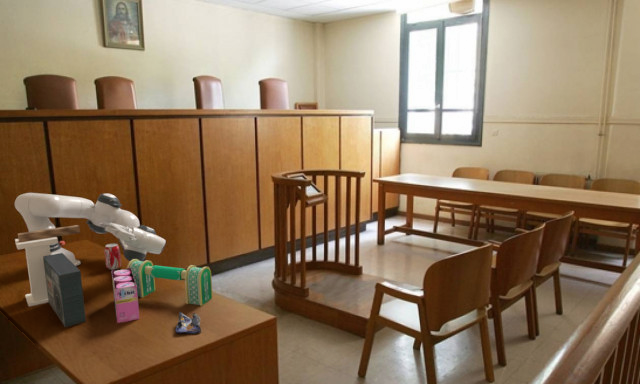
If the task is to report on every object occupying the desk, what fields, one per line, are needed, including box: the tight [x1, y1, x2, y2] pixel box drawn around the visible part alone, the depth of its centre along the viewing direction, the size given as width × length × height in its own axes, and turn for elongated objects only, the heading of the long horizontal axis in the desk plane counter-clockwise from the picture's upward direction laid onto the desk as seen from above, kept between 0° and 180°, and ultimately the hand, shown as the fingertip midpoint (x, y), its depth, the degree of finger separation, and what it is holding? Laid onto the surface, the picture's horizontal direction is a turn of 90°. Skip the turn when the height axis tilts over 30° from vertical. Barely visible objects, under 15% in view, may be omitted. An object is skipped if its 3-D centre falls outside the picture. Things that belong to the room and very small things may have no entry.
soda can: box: [104, 242, 122, 271], centre depth 226 cm, size 7×7×12 cm
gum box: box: [111, 267, 140, 324], centre depth 178 cm, size 24×8×14 cm, turn 27°
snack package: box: [175, 311, 202, 335], centre depth 162 cm, size 12×6×12 cm
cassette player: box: [43, 253, 87, 328], centre depth 176 cm, size 29×7×20 cm, turn 41°
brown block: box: [17, 224, 81, 242], centre depth 189 cm, size 22×3×3 cm, turn 127°
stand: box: [14, 236, 59, 307], centre depth 188 cm, size 14×12×26 cm
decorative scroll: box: [126, 259, 213, 307], centre depth 189 cm, size 36×8×15 cm, turn 72°
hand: (102, 226), depth 201 cm, fingers open, 8 cm apart
